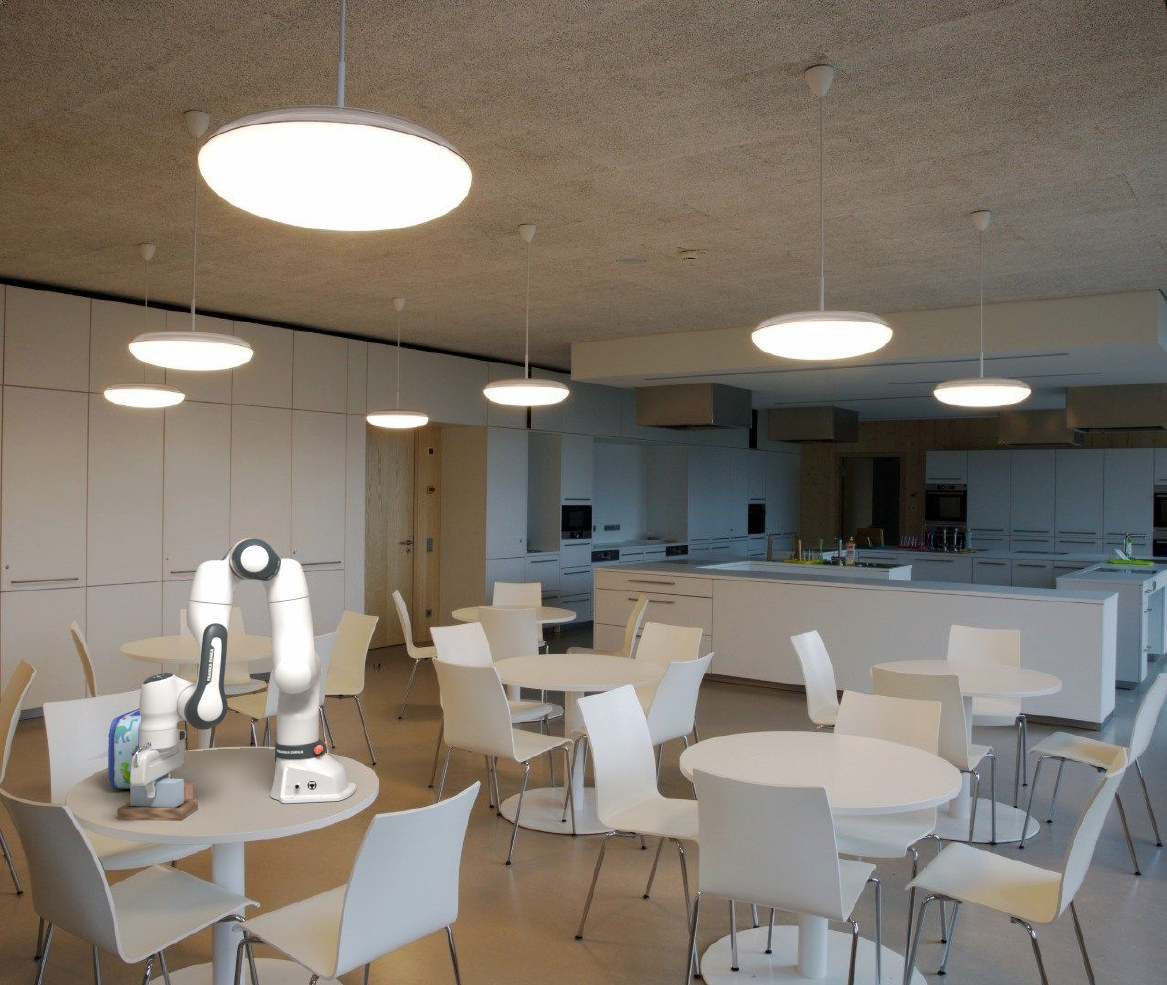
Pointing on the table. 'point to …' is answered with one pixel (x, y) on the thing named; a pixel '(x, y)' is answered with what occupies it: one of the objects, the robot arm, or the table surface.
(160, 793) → the pale blue upright slab
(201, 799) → the table surface
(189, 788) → the salmon orange rectangular block
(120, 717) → the lunch box
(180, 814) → the jig
